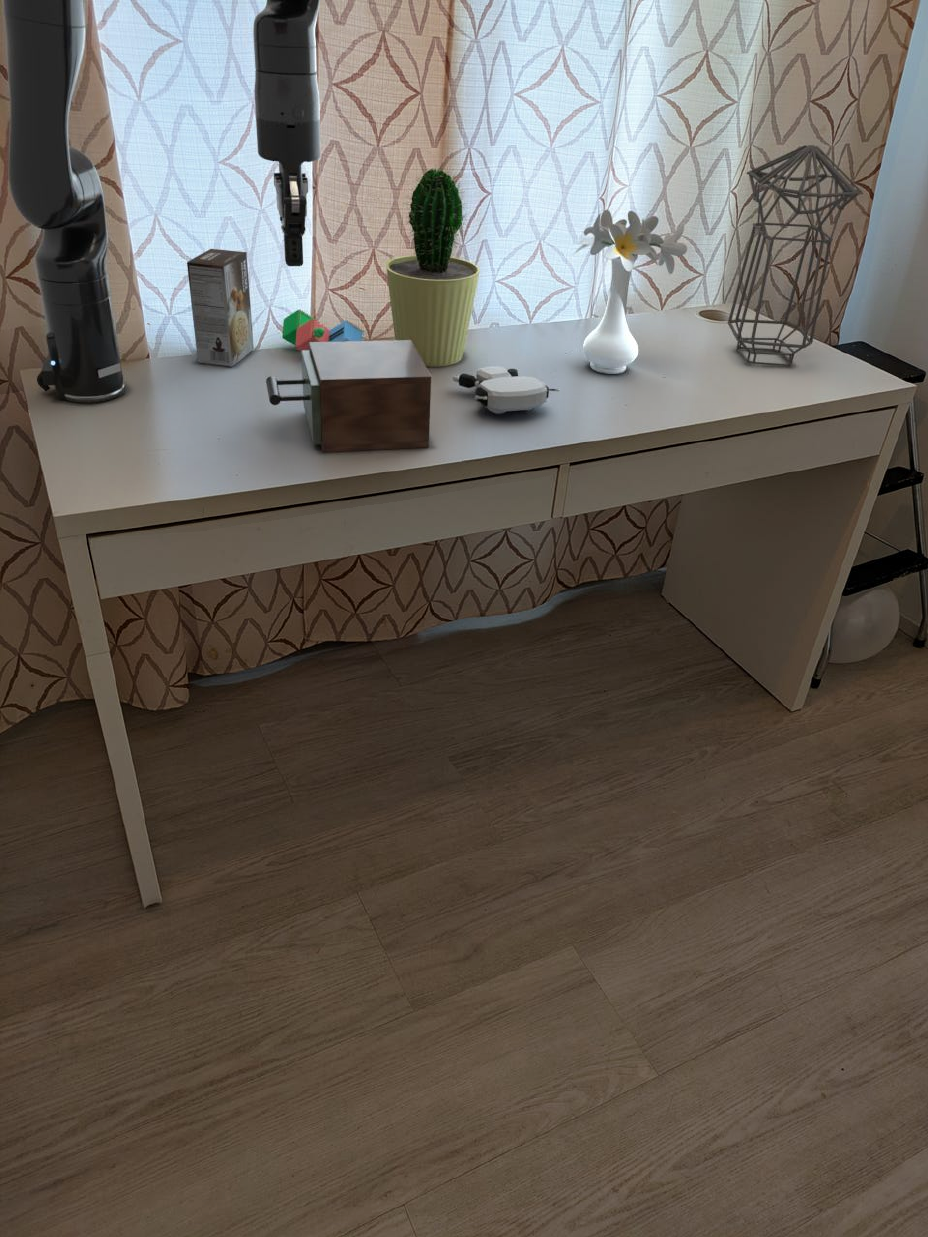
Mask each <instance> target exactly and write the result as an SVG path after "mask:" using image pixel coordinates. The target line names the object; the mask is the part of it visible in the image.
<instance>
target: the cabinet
mask: <svg viewBox="0 0 928 1237" xmlns="http://www.w3.org/2000/svg"><path fill="white" fill-rule="evenodd" d="M309 350H310V353H311V356H312V360H313V363H314V366H315V370H316V373H317V377H318V380H319V383H320V396H321V430H322V444H320V447H321V452H322V453H336V452H337V453H338V452H355V451H357V452H358V451H378V450H399V449H400V450H402V449H421V448H429V447H430V426H431V422H430V421H431V397H432V374H431V373H430V371H429V370H428V368H427V366H425V364H424V362H423V361H422V359H421V357H420V355H419V353H418V352H417V350H416V348H415V346H414V344H413V343H412V341H411V340H395V339H394V340H362V341H343V342H309Z"/></svg>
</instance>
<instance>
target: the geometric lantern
mask: <svg viewBox="0 0 928 1237" xmlns="http://www.w3.org/2000/svg"><path fill="white" fill-rule="evenodd" d="M806 158H807V161H806V165H805V168H804V172H803V176H802V177H801V176H800V177H799V176H798V177H797V176H794V177H793V176H792V175H793V174H794V173H795V172H796V171H797V169H798V168H799V167H800V166H801V164H802V163H803V161H804V160H805V159H806ZM780 163H781V164H780ZM812 163H813V164H812ZM778 164H779V165H778ZM811 164H812V165H813V171H814V174H810V175H809V172H810V169H811V168H810V167H811ZM818 164H819V166H820V168H821V169H822V172H823V173H819V168H818ZM776 165H778V166H776ZM773 166H776V167H774V169H772V170H770V171H769V172H765V171H764V170H767V169H769V168H772V167H773ZM788 171H789V173H788V174H787V175H786V173H787V172H788ZM827 171H828V172H829V174H830V175H829V174H828V173H827ZM746 175H748V178H749V182H750V186H751V191H752V194H753V197H752V200H753V201H754V202H755V203H758V207H757V208H758V209H757V222H753V223H752V228H751V232H750V237H749V240H748V245H747V247H746V252H745V255H744V258H743V259H744V260H743V263H742V267H741V271H740V275H739V279H738V282H737V286H736V290H735V294H734V298H733V301H732V306H731V309H730V311H729V317H728V320H727V325H728V327H729V329H730V330H731V332H732V334H733V336H734V338H735V340H736V341H737V344H736V349H735V350H736V351H737V353H738V354H739V355H740V356H741V357H742V358H743V360H744V361H745V362H746V363H747V364H752V365H761V366H762V365H764V366H780V367H791V366H792V365H793V360H794V357H795V354H797V353H798V352H799V351H801V350H803V349H806V348H807V347H809V346H810V345H812V344H813V343H814V335H815V331H816V325H817V319H818V315H819V309H820V305H821V298H822V294H823V289H824V288H823V287H824V283H825V279H826V278H825V277H826V272H827V268H828V262H829V257H830V251H831V246H832V243H833V241H834V239H833V237H834V234H835V231H836V229H837V228H836V227H837V225H838V222H839V219H840V216H841V212H842V210H845V207H846V206H847V205H849V204H850V203H851V202H852V201H853V200H855V198H857V197H858V196H859V195H863V194H864V191H863V190H861V188H859V186H857V184H856V183H855V182H854V181H853V180H851V178H850V177H849V176H848V175H847V174H846V173H845V172H844V171H843V170H842V169H841V168H840V167H839V166H838V164H836V163H835V162H834V161H833V160H832V159H831V158H830V157H829V156H828V155H827V154H826V153H825V152H824V151H823V150H822V148H820V146H818V145H815V144H813V145H812V144H808V145H806V144H804V145H802V146H799V147H797V148H796V149H794V150H791V151H790V152H787V153H785V154H783V155H781V156H779V157H777V158H774V159H772V160H770V161H768V162H766V163H764V164H762V165H760V166H757V167H756V168H753V169H751V170H748V171H747V172H746ZM827 178H830V179H831V178H832V179H833V181H834V192H832V193H831V192H830V193H822V191H821V185H820V184H821V183H822V182H823V181H824V180H826V179H827ZM772 179H773V180H772ZM812 179H814V180H815V181H814V182H813V183H812V184H810V185H809V186H807V187H806V188H805V185H806V182H807V181H809V180H812ZM771 180H772V181H771ZM779 180H782V182H781V183H780V184H779V185H778V186H777V185H775V184H776V183H777V182H778V181H779ZM788 181H791V182H801V183H800V185H799V189H791V188H786V186H787V183H788ZM813 188H816V189H815V190H816V192H809V191H811V190H812V189H813ZM839 188H840V189H841V191H842V192H839ZM760 189H761V190H762V189H764V190H763V192H762V194H761V195H760ZM769 190H770V191H774V192H776V194H777V195H778V196H777V197H776V199H774V202H773V203H772V205H771V206H770V208H769V209H768V210H767V212H766V214H765V215H764V209H763V204H762V202H763V200H764V198H765V197H766V196H767V194H768V192H769ZM802 197H812V198H813V197H815V198H816V200H815V207H814V208H815V209H807V207H806V204H805V203H804V200H803V198H802ZM789 198H793V199H798V200H797V207H796V206H795V205H794V203H792V202H791V201H790V200H789ZM822 198H823V199H824V198H834V200H833V201H831V202H829V203H827V204H825V205H822V206H821V207H819V203H820V200H821V199H822ZM780 199H782V200H783V201H784V202H785V203H786V204H787V205H788V206H789V207H790V209H791V210H792V211H793V212H794V215H793V216H792V217H791V218H790V219H789V220H788V221H787V222H786V223H781V222H780V223H779V222H766V221H767V219H768V217H769V216H770V214H771V213H772V212H773V210H774V208H775V207H776V205H777V204H778V202H779V201H780ZM842 202H843V203H842ZM841 203H842V204H841ZM801 205H802V207H803V210H801ZM828 208H830V209H829V210H828V212H827V213H826V214H825V216H824V217H823V219H822V220H821V216H820V212H821V211H824V210H826V209H828ZM836 208H837V209H838V212H837V217H836V219H835V222H834V226H833V228H832V231H831V233H830V235H828V234H827V233H826V232H825V231H823V225H824V224H825V222H826V221H827V220H828V218H829V217H830V215H831V214H832V213H833V211H834V210H835V209H836ZM812 214H815V216H816V220H817V226H814V224H813V223H812V220H811V218H810V215H812ZM798 215H806V218H807V219H808V222H809V224H803V223H802V224H800V223H799V224H798V223H791V222H792V221H793V220H795V218H797V216H798ZM766 226H777V227H778V226H779V227H781V228H780V229H779V230H778V231H777V232H776V233H775V234H774V235H773V236H770V235H768V234H767V231H766ZM786 227H800V228H807V229H806V230H807V231H806V235H805V238H795V237H794V238H793V237H780V236H778V235H779V234H780V233H781V232H782V231H783V230H784V229H785V228H786ZM811 230H812V231H815V233H814V238H813V239H811V238H810V234H811ZM756 231H758V235H757V238H756V242H755V246H754V249H753V253H752V256H751V260H750V263H749V268H748V271H747V275H746V278H745V282H744V286H743V290H742V293H741V297H740V301H739V305H738V308H737V312H736V315H735V319H733V316H734V312H735V308H736V305H737V301H738V297H739V293H740V290H741V286H742V282H743V280H744V279H743V278H744V276H745V272H746V267H747V263H748V259H749V256H750V252H751V248H752V244H753V241H754V237H755V233H756ZM819 234H820V239H818V236H819ZM761 237H762V239H761ZM825 238H826V239H825ZM766 240H769V246H768V251H767V255H766V260H765V265H764V270H763V276H762V280H761V281H762V282H761V286H760V291H759V297H758V302H757V307H756V312H755V316H754V319H746V316H747V312H748V310H749V309H748V308H749V304H750V302H751V298H752V293H753V290H754V287H755V282H756V278H757V275H758V271H759V267H760V264H761V261H762V260H761V259H762V257H763V253H764V252H763V251H764V247H765V243H766ZM775 240H778V241H791V242H792V241H793V242H803V246H802V250H801V254H800V258H799V263H798V265H797V268H796V269H797V270H796V274H795V278H794V281H793V285H792V289H791V293H790V296H789V297H790V298H789V301H788V305H787V308H786V313H785V316H784V319H783V320H768V319H767V320H766V319H759V317H760V312H761V307H762V303H763V302H762V301H763V297H764V293H765V292H764V291H765V286H766V282H767V277H768V272H769V267H770V261H771V257H772V252H773V247H774V242H775ZM760 242H761V243H760ZM808 243H812V247H811V253H810V257H809V258H810V259H809V261H808V262H809V263H808V268H807V274H806V279H805V284H804V289H803V294H802V299H801V305H800V309H799V315H798V319H797V324H795V323H793V322H790V321H788V319H789V315H790V312H791V309H792V306H793V305H792V304H793V301H794V297H795V293H796V289H797V286H798V282H799V278H800V274H801V270H802V267H803V262H804V259H805V254H806V251H807V247H808ZM817 243H819V249H818V253H817V254H818V255H817V260H816V265H815V271H814V276H813V282H812V288H811V293H810V299H809V304H808V309H807V316H806V322H805V326H804V329H803V328H802V327H801V325H802V320H803V314H804V311H805V310H804V309H805V305H806V299H807V295H808V289H809V283H810V279H811V274H812V269H813V263H814V258H815V253H816V247H817ZM825 244H827V245H826V246H827V247H826V251H825V255H824V261H823V266H822V273H821V277H820V282H819V288H818V292H817V298H816V302H815V309H814V314H813V320H812V324H811V330H810V334H809V335H810V336H808V332H809V327H810V321H811V316H812V310H813V305H814V301H815V300H814V299H815V294H816V288H817V283H818V277H819V271H820V266H821V262H822V256H823V249H824V245H825ZM759 246H760V247H759ZM758 249H759V251H758ZM757 253H758V255H757ZM756 257H757V259H756ZM755 261H756V263H755ZM754 263H755V267H754ZM753 267H754V271H753ZM752 272H753V274H752ZM751 274H752V278H751ZM750 278H751V282H750V285H749V281H750ZM748 285H749V286H748ZM748 287H749V289H748ZM747 289H748V293H747ZM746 293H747V297H745V296H746ZM745 298H746V301H745V304H744V308H743V303H744V300H745ZM742 308H743V311H742ZM741 311H742V316H741V318H740V315H741ZM739 323H740V324H739ZM745 323H747V324H753V327H752V333H751V337H743V336H742V333H743V329H744V324H745ZM733 324H735V327H736V329H737V331H736V329H735V327H734V325H733ZM758 324H771V325H781V327H780V330H779V332H778V334H777V337H756V333H757V328H758ZM785 325H787V326H790V327H792V328H794V329H792V330H791V331H790V332H788V334H786V335H785V336H784V337H783V338H782V339H780V337H781V335H782V332H783V330H784V328H785ZM797 330H798V331H799V333H800V334H801V335H802V336H803V338H802V343H801V344H795V343H786V342H785V340H787V338H789V337H790V336H792V334H793V333H794V332H796V331H797ZM769 341H773V342H769ZM746 344H749V345H751V347H748V346H747V345H746ZM756 346H769V347H772V348H763V347H761V348H760V347H756ZM776 347H778V349H776ZM782 347H783V348H787V349H788V350H789V351H790V352H791V353H789V352H783V351H782V350H781V349H782ZM792 348H796V350H794V349H792ZM742 350H745V351H746V352H747V353H748V354H747V357H746V356H745V355H744V354H743V352H742ZM751 355H753V359H752V360H750V358H751ZM757 355H770V356H782V357H783V359H785V360H786V362H787V363H779V362H778V363H777V362H765V361H764V362H761V361H756V358H757ZM787 356H788V357H787Z"/></svg>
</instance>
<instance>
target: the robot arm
mask: <svg viewBox="0 0 928 1237" xmlns="http://www.w3.org/2000/svg"><path fill="white" fill-rule="evenodd" d="M1 2H2V3H1V4H2V16H3V25H4V33H5V45H6V46H5V47H6V49H5V50H6V66H7V67H6V68H7V82H8V94H9V95H8V96H9V138H8V139H9V142H8V186H9V192H10V196H11V198H12V201H13V204H14V206H15V208H16V209H17V211H18V212H19V214H20V215H21V216H22V218H23V219H25V220H26V222H28V223H29V224H31V225H32V226H33V227H35V228H38V229H41V230H43V232H42V238H41V241H40V244H39V246H38V248H37V250H36V252H35V255H34V265H35V272H36V275H37V276H36V277H37V280H38V282H37V283H38V288H39V292H40V297H41V302H42V309H43V313H44V318H45V323H46V329H47V331H46V334H45V340H46V345H47V351H48V356H49V359H44V361H43V364H42V366H41V370H40V372H39V373H38V375H37V376H36V382H37V385H38V386H39V387H40V388H41V389H42V390H43V391H44V392H48V391H50V390H51V386H54V388H55V393H56V398H57V400H62V401H66V400H67V401H69V402H74V403H86V404H87V403H88V404H89V403H99V402H105V401H110V400H113V399H115V398H118V397H120V396H122V394H124V393H125V391H126V385H125V381H124V374H123V369H122V363H121V356H120V349H119V342H118V335H117V329H116V322H115V314H114V308H113V302H112V301H113V300H112V296H111V289H110V281H109V275H108V268H107V258H108V253H109V233H108V224H107V223H108V222H107V213H106V204H105V197H104V190H103V186H102V181H101V177H100V176H99V173H98V170H97V168H96V167H95V165H94V164H93V162H92V160H91V159H90V158H89V157H88V156H87V155H86V154H85V153H84V152H82V151H81V150H79V149H78V148H75V147H73V146H71V145H70V141H69V140H70V139H69V120H70V119H69V118H70V110H71V105H72V104H71V103H72V99H73V96H74V92H75V90H76V85H77V82H78V79H79V75H80V71H81V67H82V63H83V58H84V55H85V54H84V53H85V47H86V41H87V40H86V38H87V25H86V24H87V20H86V16H87V15H86V0H1ZM320 3H321V0H266V4H265V6H264V8H263V9H262V10H261V11H260V12H259V13H258V14H256V16H255V18H254V20H253V29H252V30H253V31H252V32H253V35H252V36H253V53H254V54H253V55H254V69H255V70H254V72H255V73H254V74H255V77H254V108H255V109H254V110H255V124H256V125H255V126H256V142H257V154H258V156H259V157H260V158H261V159H263V160H266V161H269V162H278V172H273V174H272V175H273V186H274V187H275V192H276V208H277V211H278V215H279V221H280V224H281V225H280V229H281V231H282V233H283V248H284V261H285V264H286V265H287V266H288V267H302V266H303V264H304V249H303V248H304V245H303V237H304V235H305V233H306V230H307V229H306V217H307V216H308V201H307V195H308V193H309V178H308V177H307V175H306V173H305V172H303V169H302V165H303V163H312V162H315V161H318V160H319V159H320V158H321V155H322V151H321V150H322V149H321V115H320V114H321V113H320V112H321V110H320V108H321V107H320V106H321V105H320V92H319V90H320V89H319V85H318V84H319V82H318V76H317V74H318V73H317V44H316V43H317V42H316V25H317V20H318V17H319V16H318V15H319V10H320V5H321V4H320Z"/></svg>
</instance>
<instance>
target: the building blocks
mask: <svg viewBox="0 0 928 1237" xmlns="http://www.w3.org/2000/svg"><path fill="white" fill-rule="evenodd" d="M364 332H365V331H364V330H363V329H361V328H360V327H359V326H357V325H356V324H354V323H352V322H351V321H349V320H344V321H342V322H339V324H337V325H335V326H334V327H332V328H330V329H329V328H328V327H326V326H325V325H324V324H323V323H320V321H318V319H316V318H314V316H311V315H310V314H309V313H307V312H305V311H303V310H302V309H297V310H295V311H294V312H292V313H291V314H289V315H287V316H286V317H284V319H283V322H282V335H281V337H282V339H283V340H285V341H286V342H288V343H290V344H291V345H293V346H294V348H295V349H296V350H297V351H299V352H301V351H302V350H309V342H343V341H363V335H364V334H363V333H364Z"/></svg>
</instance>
